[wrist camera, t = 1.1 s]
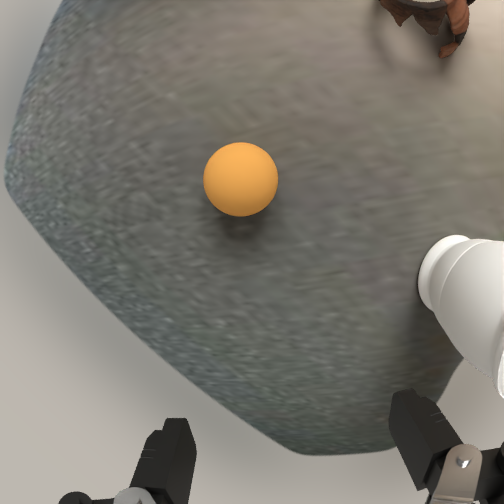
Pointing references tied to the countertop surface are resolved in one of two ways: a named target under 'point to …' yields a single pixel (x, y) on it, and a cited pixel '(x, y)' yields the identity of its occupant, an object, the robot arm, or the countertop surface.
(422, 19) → the pottery mug
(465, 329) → the jar
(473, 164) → the countertop surface
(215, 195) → the ball
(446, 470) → the robot arm
